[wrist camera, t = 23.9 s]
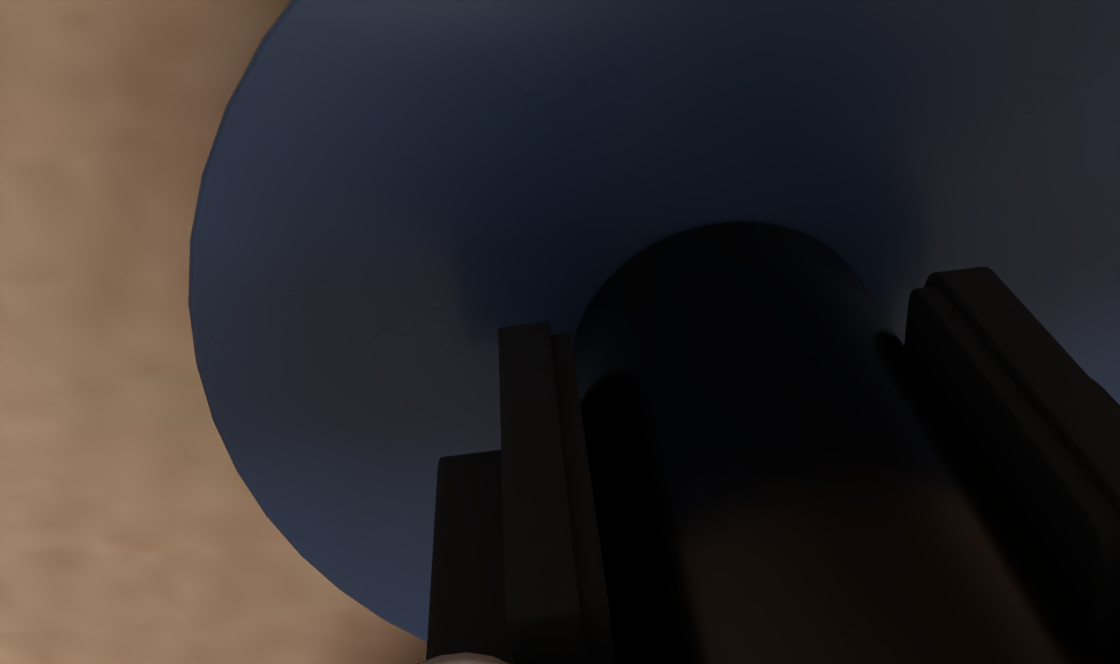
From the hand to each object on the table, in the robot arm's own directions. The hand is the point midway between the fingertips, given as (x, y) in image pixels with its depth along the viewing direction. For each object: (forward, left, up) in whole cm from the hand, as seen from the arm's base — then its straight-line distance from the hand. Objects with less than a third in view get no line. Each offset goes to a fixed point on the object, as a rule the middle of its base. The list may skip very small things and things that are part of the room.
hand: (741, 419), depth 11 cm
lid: (0, 0, -2) cm, 2 cm away
